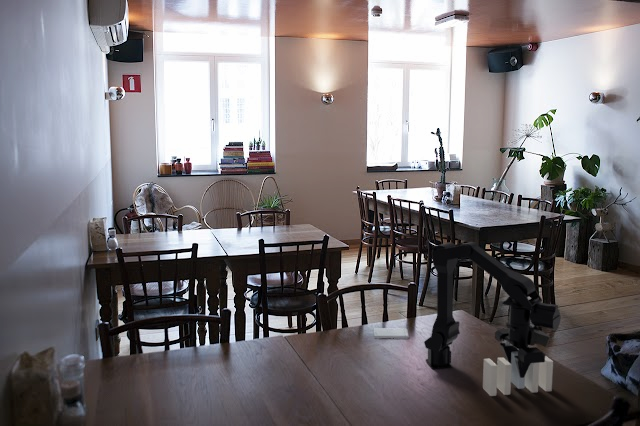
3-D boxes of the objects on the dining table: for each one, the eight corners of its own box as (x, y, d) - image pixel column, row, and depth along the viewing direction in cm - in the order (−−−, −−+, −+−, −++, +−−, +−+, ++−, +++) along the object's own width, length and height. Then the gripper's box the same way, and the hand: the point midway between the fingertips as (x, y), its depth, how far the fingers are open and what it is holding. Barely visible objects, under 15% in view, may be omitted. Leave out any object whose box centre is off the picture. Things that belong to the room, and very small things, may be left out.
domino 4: (532, 392, 159) (533, 362, 158) (523, 384, 164) (524, 355, 163) (537, 392, 159) (539, 362, 158) (529, 384, 164) (530, 355, 163)
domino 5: (545, 391, 160) (547, 361, 158) (536, 383, 165) (538, 354, 163) (551, 390, 160) (553, 361, 159) (542, 383, 165) (543, 354, 163)
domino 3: (518, 388, 158) (519, 358, 157) (510, 380, 163) (511, 351, 162) (524, 388, 159) (525, 358, 157) (515, 380, 164) (517, 351, 162)
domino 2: (504, 394, 158) (505, 365, 157) (496, 386, 163) (497, 357, 161) (510, 394, 158) (511, 364, 157) (502, 386, 163) (503, 357, 162)
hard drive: (374, 335, 201) (408, 335, 200) (373, 327, 209) (406, 327, 208) (374, 340, 201) (408, 340, 200) (373, 331, 209) (406, 331, 208)
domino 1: (490, 396, 157) (491, 366, 156) (482, 388, 162) (483, 358, 161) (496, 395, 158) (497, 365, 156) (488, 387, 163) (489, 358, 161)
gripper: (564, 331, 150) (561, 386, 152) (529, 309, 168) (527, 358, 171) (526, 334, 148) (523, 389, 151) (494, 311, 167) (492, 360, 169)
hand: (517, 373), depth 160 cm, fingers closed on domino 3, 5 cm apart
